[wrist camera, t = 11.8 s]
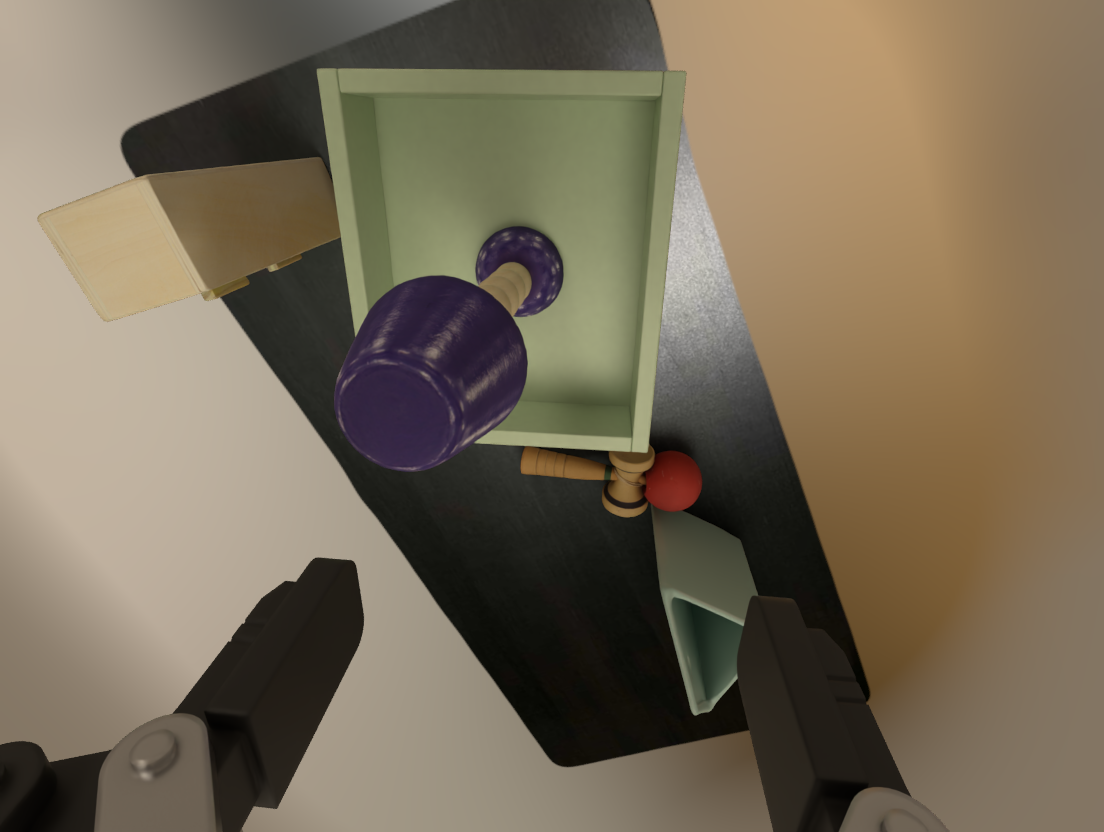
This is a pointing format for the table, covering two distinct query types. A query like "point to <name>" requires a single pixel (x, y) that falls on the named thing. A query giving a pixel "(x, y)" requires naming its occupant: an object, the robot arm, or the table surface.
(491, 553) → the table surface
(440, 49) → the table surface
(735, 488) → the table surface
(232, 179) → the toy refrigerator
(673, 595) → the planter
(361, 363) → the toy lamp
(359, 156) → the box
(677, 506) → the kendama
